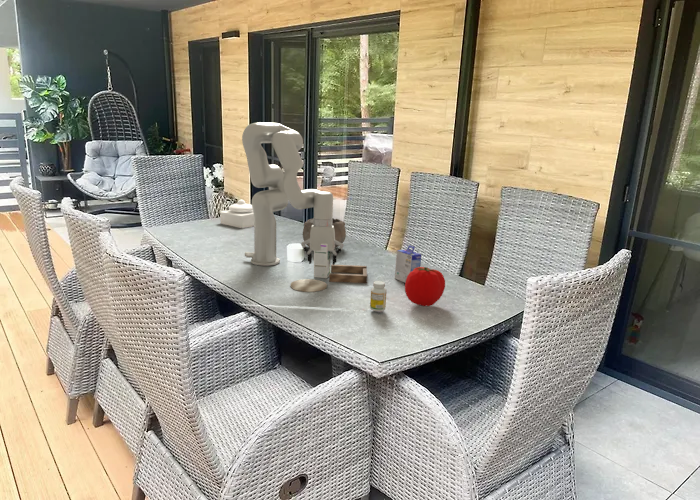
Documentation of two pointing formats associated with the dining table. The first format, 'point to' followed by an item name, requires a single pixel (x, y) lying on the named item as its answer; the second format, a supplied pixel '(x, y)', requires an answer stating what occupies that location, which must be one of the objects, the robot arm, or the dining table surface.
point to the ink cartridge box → (406, 263)
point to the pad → (308, 285)
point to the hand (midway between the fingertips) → (321, 263)
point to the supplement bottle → (378, 296)
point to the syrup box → (322, 262)
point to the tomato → (424, 286)
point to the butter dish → (238, 215)
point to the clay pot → (338, 227)
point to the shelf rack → (348, 277)
